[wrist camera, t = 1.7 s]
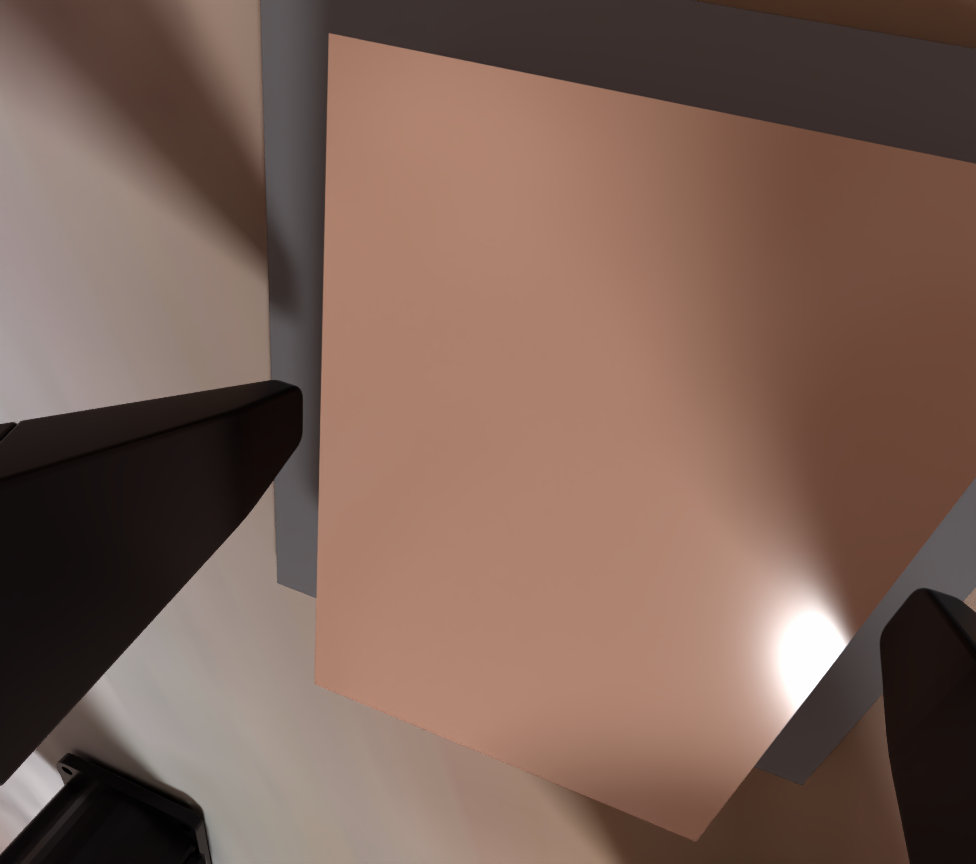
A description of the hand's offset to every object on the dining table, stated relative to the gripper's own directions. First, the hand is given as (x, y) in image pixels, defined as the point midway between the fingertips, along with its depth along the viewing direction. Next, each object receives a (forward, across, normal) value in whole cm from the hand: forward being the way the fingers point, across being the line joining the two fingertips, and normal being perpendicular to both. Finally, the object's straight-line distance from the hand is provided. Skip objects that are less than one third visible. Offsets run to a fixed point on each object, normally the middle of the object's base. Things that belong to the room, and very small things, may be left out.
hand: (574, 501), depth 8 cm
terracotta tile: (+1, 0, 0) cm, 1 cm away
